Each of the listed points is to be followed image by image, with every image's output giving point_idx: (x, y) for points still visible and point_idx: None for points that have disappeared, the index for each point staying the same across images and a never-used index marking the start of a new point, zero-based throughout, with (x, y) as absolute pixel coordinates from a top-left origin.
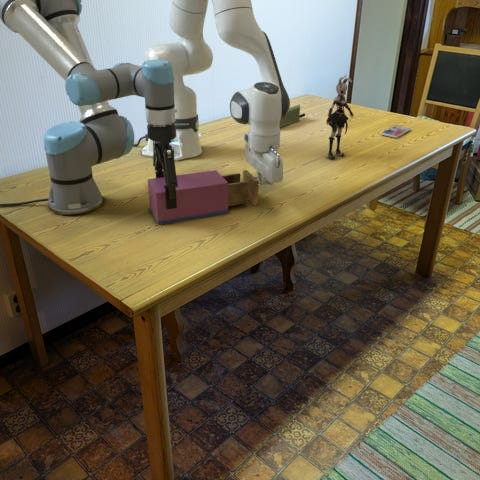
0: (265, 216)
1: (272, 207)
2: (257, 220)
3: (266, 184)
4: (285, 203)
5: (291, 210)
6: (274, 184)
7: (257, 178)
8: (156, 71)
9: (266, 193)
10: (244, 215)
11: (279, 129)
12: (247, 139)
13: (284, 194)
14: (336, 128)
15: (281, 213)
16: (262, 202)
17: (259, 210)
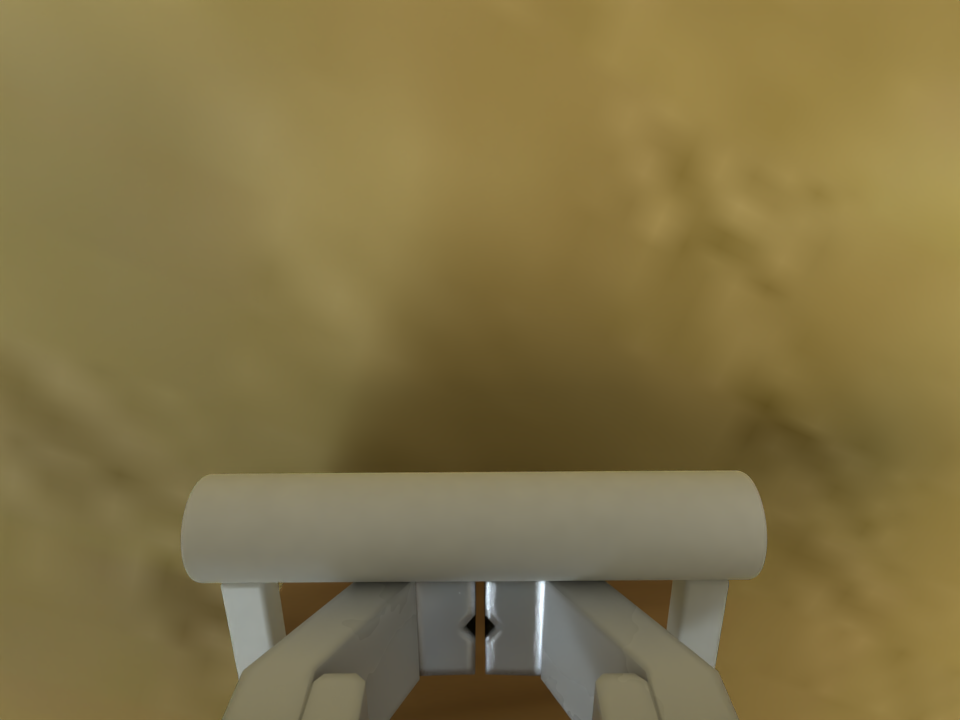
0: (902, 549)
1: (740, 393)
2: (931, 644)
3: (713, 649)
4: (715, 173)
5: (956, 194)
6: (752, 487)
7: (284, 636)
8: None
9: (298, 292)
10: (764, 706)
11: None
12: None
13: (409, 32)
14: None
15: (948, 360)
16: (554, 448)
17: None
